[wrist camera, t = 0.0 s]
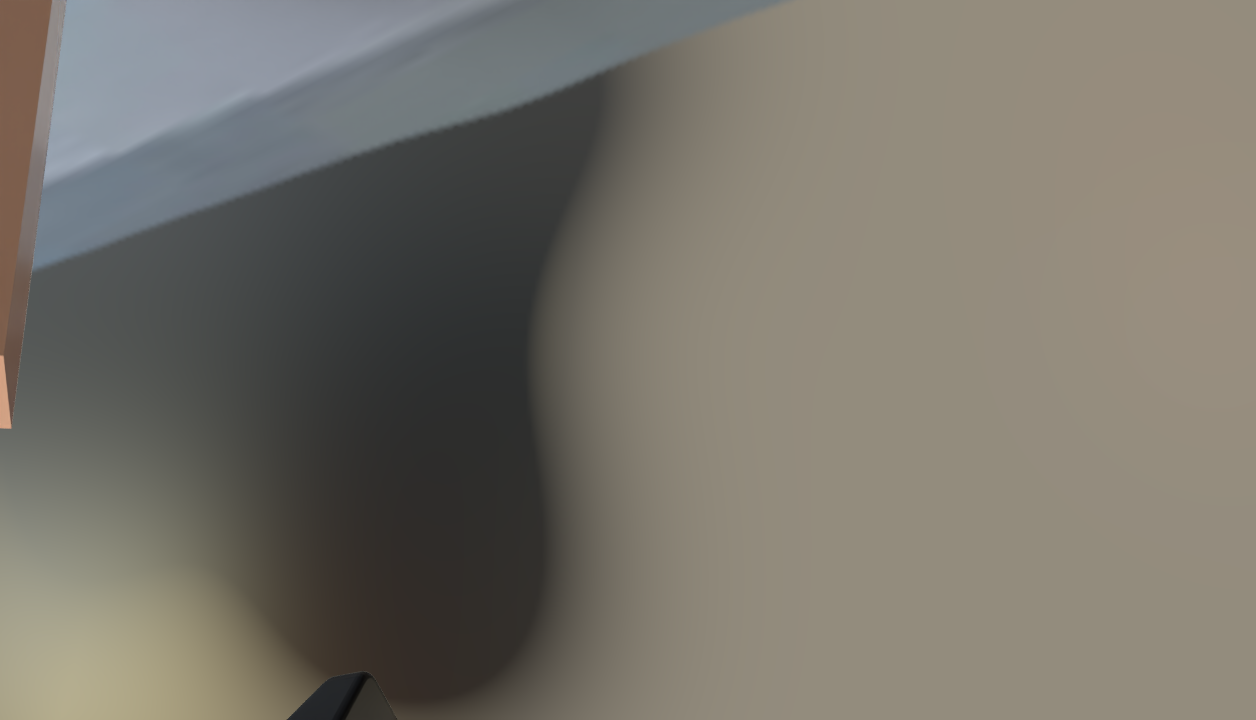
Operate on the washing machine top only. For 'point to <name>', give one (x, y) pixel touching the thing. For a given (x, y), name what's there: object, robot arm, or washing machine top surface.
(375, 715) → the robot arm
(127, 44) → the washing machine top surface
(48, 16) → the block
